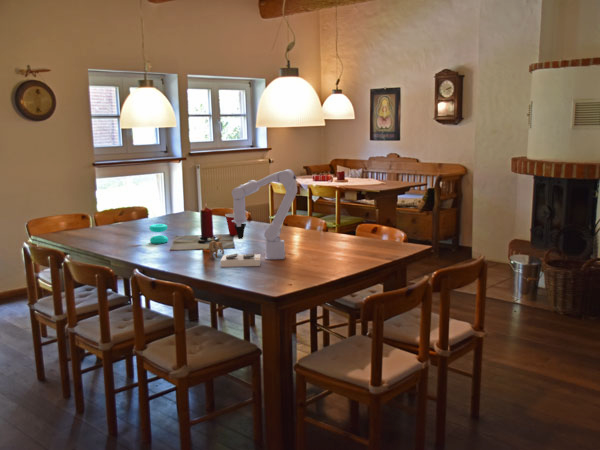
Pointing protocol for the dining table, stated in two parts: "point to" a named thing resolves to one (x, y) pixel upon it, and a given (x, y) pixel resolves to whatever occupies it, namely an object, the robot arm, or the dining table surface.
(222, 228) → the dining table surface
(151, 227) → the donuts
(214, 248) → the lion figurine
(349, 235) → the dining table surface
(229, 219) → the plastic cup
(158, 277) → the dining table surface
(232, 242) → the dining table surface
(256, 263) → the beige switch box
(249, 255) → the rocker
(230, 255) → the rocker
